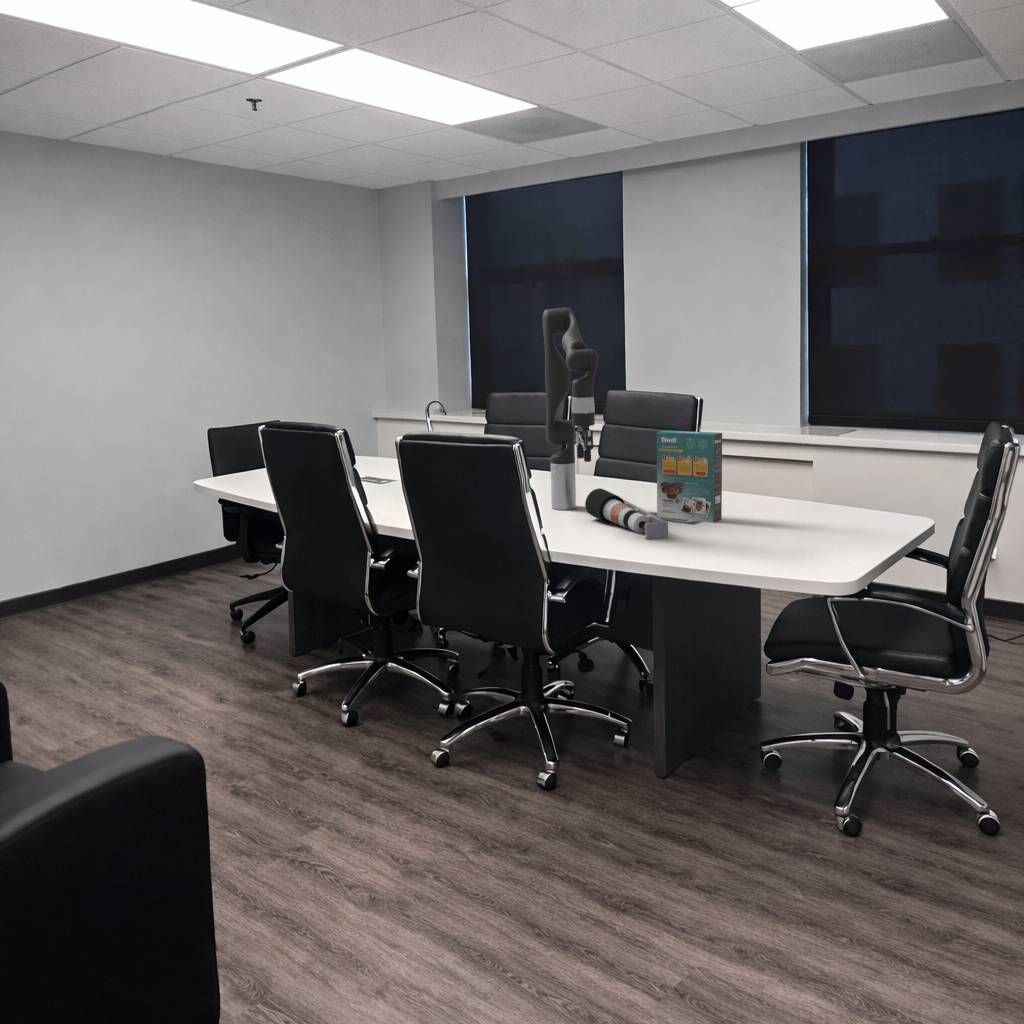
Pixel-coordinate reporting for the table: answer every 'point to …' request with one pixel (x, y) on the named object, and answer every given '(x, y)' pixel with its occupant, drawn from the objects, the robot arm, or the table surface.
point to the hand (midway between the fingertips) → (584, 459)
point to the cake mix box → (689, 475)
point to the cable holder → (652, 524)
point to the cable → (614, 510)
